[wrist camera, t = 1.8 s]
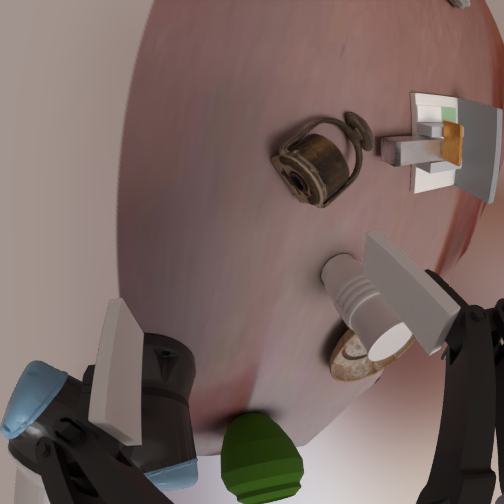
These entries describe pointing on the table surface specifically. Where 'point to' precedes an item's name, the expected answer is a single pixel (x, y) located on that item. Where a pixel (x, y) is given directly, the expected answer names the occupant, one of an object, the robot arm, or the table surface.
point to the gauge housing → (473, 144)
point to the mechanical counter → (322, 161)
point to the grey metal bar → (424, 147)
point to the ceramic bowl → (358, 359)
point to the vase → (259, 460)
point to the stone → (461, 3)
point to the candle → (364, 308)
